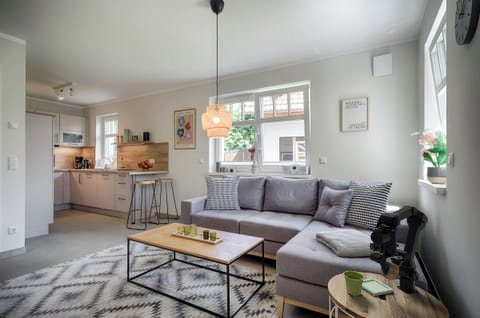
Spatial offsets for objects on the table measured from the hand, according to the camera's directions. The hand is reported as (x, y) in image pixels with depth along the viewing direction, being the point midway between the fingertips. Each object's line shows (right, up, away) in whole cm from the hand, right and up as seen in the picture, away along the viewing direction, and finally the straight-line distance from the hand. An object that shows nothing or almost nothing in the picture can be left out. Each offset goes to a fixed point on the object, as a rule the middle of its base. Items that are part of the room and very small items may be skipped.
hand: (389, 274), depth 114 cm
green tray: (-3, -11, +9) cm, 14 cm away
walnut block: (0, -1, 0) cm, 1 cm away
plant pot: (-15, -11, +4) cm, 19 cm away
